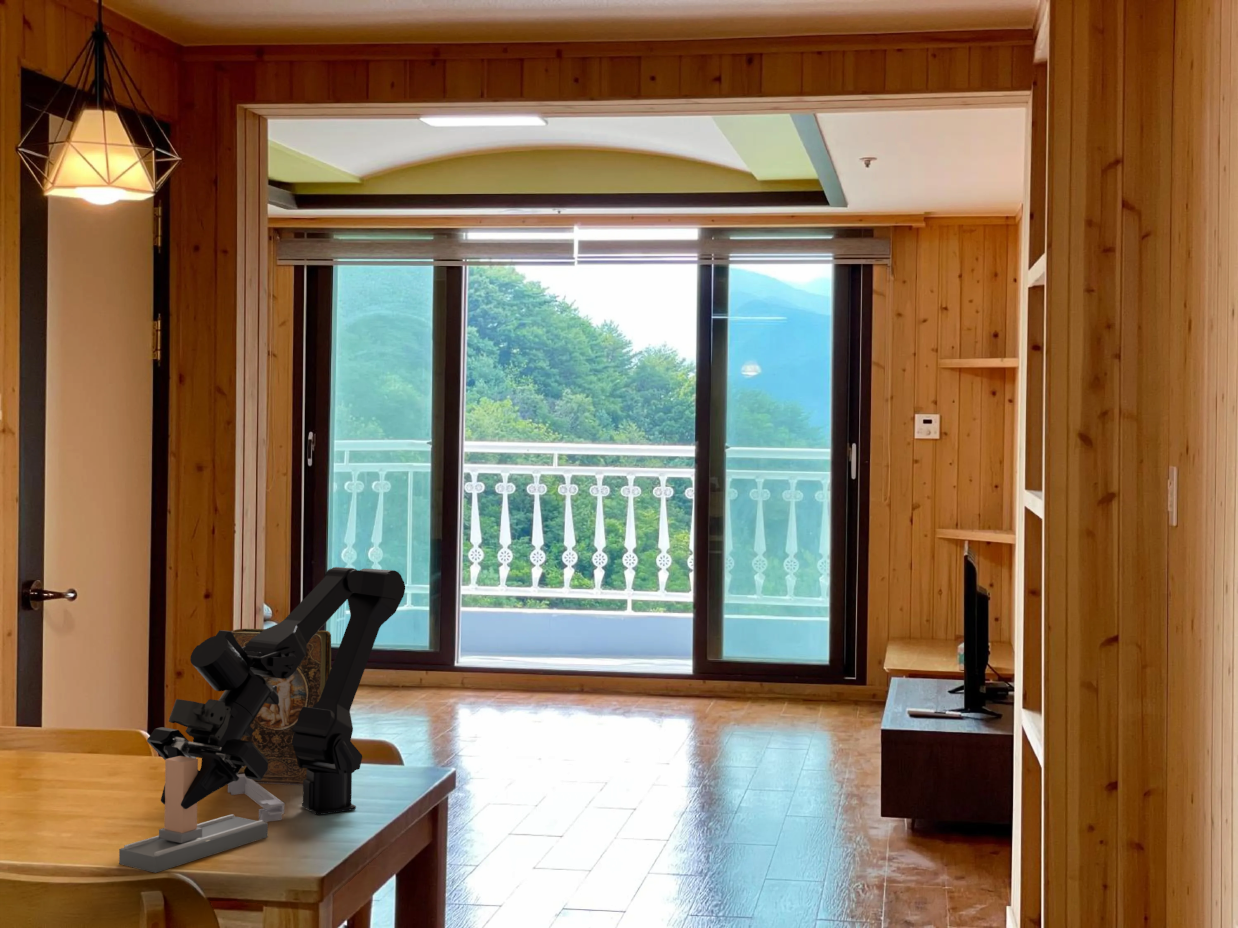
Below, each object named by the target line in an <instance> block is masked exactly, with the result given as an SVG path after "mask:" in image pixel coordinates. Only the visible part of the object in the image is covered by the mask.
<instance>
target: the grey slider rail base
mask: <svg viewBox="0 0 1238 928" xmlns="http://www.w3.org/2000/svg"><path fill="white" fill-rule="evenodd" d="M268 825H269V824H268V822H263V820H254V819H250V818H245V817H239V816H235V814H233V813H232V814H228V815H225V816H221V817H218V818H213V819H211V820H207V821H203V822H200V823H197V827H199V828H202V837H201V838H197V839H194V840H191V841H187V842H184V843H178V842H174V841H169V840H164V839H160V838H159V835H156V836H152V837H149V838H145V839H142V840H138V841H135V842H132V843H128V844H125V845H124V847H121V848H119V852H118V853H119V854H118V855H119V857H118V862H119V863H118V865H123V866H126V867H130V868H134V869H139V870H141V871H147V872H152V873H155V874H156V873H159V872H163V871H165V870H168V869H171V868H174V867H177V866H181V865H184V864H188V863H190V862H193V861H196V860H199V859H203V858H206V857H208V856H213V855H216V854H219V853H221V852H225V851H229V850H231V849H235V848H238V847H240V846H245V845H246V844H251V843H252V842H255V841H260V840H263V839H265V838H268V837H269V836H268V835H269V834H268V830H269V829H268V828H269V826H268Z"/></svg>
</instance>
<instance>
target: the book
mask: <svg viewBox="0 0 1238 928" xmlns="http://www.w3.org/2000/svg"><path fill="white" fill-rule="evenodd" d="M265 629H266V628H239V629H233V630H229V631H230V632H231V633H232V634H233V635H234V637H235V639H236V641H237V642H238V643H239V645H240V646H241V647H244V646H246V645H247V643H248V642H249V641H250V640H251V639H252V638H254V637H255V636H256V635H258V634H259V633H260V632H262V631H263V630H265ZM331 668H332V634H331V632H330V631H329V630H319V631H318V632H317V633H316V634H315V635H314V636H313V637H312V638H311V639H310V641H309V642H308V644H307V648H306V655H305V657H304V659H303V660H302V662H301V663H300V665H299V666H298V668H297V669H296V671H295V672H294V674H293V675H291V676H290V677H289V678H287V679H280V678H272V677H264V676H262V677H263V678H264V679H265V680H266V682H267V683H268V684H269V685H275V686H277V694H278V696H279V704H278V705H274V704H267V703H265V704H264V705H263V707H262V708H261V710H260V711H259V713H258V714H257V716H256V717H255V719H254V720H253V722H252V724H251V725H250V727H251V728H252V729H253V730H254V732H253V733H252V735H251V737H250V736H243V737H242V739H241V740H244V741H251V742H252V743H253V744H254V745H255V746H256V747H257V748H258V749H259V751H260V752H261V753H262V754H263V755H264V756H265V757H266V759H267V760H268V770H267V772H266V773H265V775H264V776H263V778H262V780H261V781H260V780H254V779H252V780H254V781H255V782H256V783H258V784H270V785H272V784H274V785H293V786H294V785H295V786H296V785H297V786H298V785H299V786H300V785H302V786H303V780H304V779H306V769H308V768H299V766H298V762H297V758H296V755H295V751H294V747H293V745H292V738H293V734H294V732H292V729H293V728H294V727H295V725H296V723H297V720H298V717H299V713H300V711H301V709H302V708H303V707H311V708H312V707H313V706H314V705H315V704H316V703H317V702H318V701H319V699H320V697H321V694H322V692H323V689H324V686H325V684H326V681H327V678H328V676H329V673H330V670H331ZM246 767H247V766H244V767H241V769H240V770H239V772H238V774H245V773H244V770H245V768H246ZM238 774H237V775H238Z"/></svg>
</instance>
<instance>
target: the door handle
mask: <svg viewBox="0 0 1238 928" xmlns="http://www.w3.org/2000/svg"><path fill="white" fill-rule="evenodd" d="M237 776H238V777H239V780H238V781H233V782H231V783H229V784H227V793H230V795H231V796H234V795H243V794H244V795H246V796H247V797H248V798H250V799H251V800H252V801H254V802H255V803H256V804H257V805H259V806H260V807H262V808H260V809H259V808H258V821H260V820H263V822H265V823H268V822H274V821H275V822H276V821H282V818H283V814H285V802H283V801H282V800H281V799H279V798H278V797H276V795H274V794H272V793H271V792H270V791H269V790H267V789H266V788H264V787H263V786H262V785H260V783H256V782H255V781H254V780H252V779H248V778H247V777H246V776H245V774H238V775H237Z"/></svg>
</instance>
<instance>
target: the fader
mask: <svg viewBox="0 0 1238 928" xmlns="http://www.w3.org/2000/svg"><path fill="white" fill-rule="evenodd" d="M164 761H165V767H164V768H165V770H164V774H165V775H164V777H165V778H164V785H165V805H164V827H163V828H159V829H158V836H159V838H160V839H164V840H169V841H174V842H178V843H184V842H187V841H191V840H194V839H197V838H201V837H202V828H199V827H197V824H198V802H197V803H195V804H194V805H192V806H191V807H189V808H188V809H184V808H183V807H182V806H181V802H182V800H183V798H184V796H185V794H186V792H187V791H188V789H189V787H190V786H191V784H192V782H193V781H194V779H195V777H196V776H197V774H198V770H199V765H198V764H199V759H198V758H196V759H195V758H189V757H184V756H177V757H173V758H168V759H165V760H164Z"/></svg>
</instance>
